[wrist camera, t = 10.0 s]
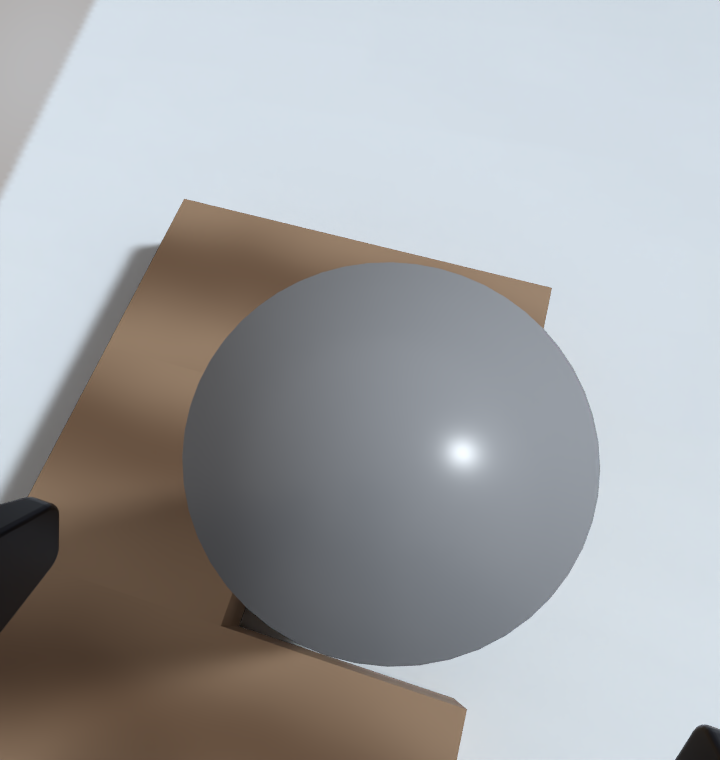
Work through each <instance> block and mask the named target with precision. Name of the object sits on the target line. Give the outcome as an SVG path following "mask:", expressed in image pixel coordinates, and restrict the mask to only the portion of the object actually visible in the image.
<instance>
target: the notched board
mask: <svg viewBox="0 0 720 760" xmlns="http://www.w3.org/2000/svg"><path fill="white" fill-rule="evenodd" d="M385 262H395V263H408V264H418V265H423V266H428V267H434V268H439V269H442V270H446V271H449V272H452V273H456V274H459V275H462V276H464V277H467V278H469V279H471V280H474V281H476V282H478V283H481V284H483V285H485V286H487V287H488V288H490V289H492V290H494V291H495V292H497V293H499V294H501V295H502V296H504V297H506V298H507V299H509V300H510V301H511V302H513V303H514V304H515V305H517V306H518V307H519V308H521V309H522V310H524V311H525V312H526V313H527V314H528V315H529V316H530V317H531V318H532V319H534V320H535V321H536V322H537V323H538V324H539V325H540V326H541V327H542V328H543V329H544V324H545V319H546V314H547V309H548V304H549V299H550V294H551V289H552V288H550V287H546V286H541V285H537V284H533V283H529V282H525V281H521V280H517V279H513V278H508V277H504V276H500V275H496V274H492V273H488V272H484V271H480V270H475V269H471V268H467V267H463V266H459V265H455V264H451V263H447V262H442V261H438V260H434V259H430V258H426V257H422V256H418V255H414V254H409V253H405V252H401V251H397V250H393V249H389V248H385V247H381V246H376V245H372V244H368V243H364V242H360V241H356V240H352V239H348V238H343V237H339V236H335V235H331V234H327V233H323V232H319V231H315V230H310V229H306V228H302V227H298V226H294V225H290V224H286V223H282V222H277V221H273V220H269V219H265V218H261V217H257V216H253V215H249V214H244V213H240V212H236V211H232V210H228V209H224V208H220V207H216V206H211V205H207V204H203V203H199V202H195V201H191V200H187V199H184V200H183V202H182V204H181V206H180V208H179V210H178V212H177V214H176V216H175V218H174V219H173V221H172V223H171V225H170V227H169V229H168V231H167V233H166V235H165V237H164V239H163V240H162V242H161V244H160V246H159V248H158V250H157V252H156V254H155V256H154V258H153V259H152V261H151V263H150V265H149V267H148V269H147V271H146V273H145V275H144V277H143V278H142V280H141V282H140V284H139V286H138V288H137V290H136V292H135V294H134V296H133V298H132V299H131V301H130V303H129V305H128V307H127V309H126V311H125V313H124V315H123V317H122V318H121V320H120V322H119V324H118V326H117V328H116V330H115V332H114V334H113V336H112V337H111V339H110V341H109V343H108V345H107V347H106V349H105V351H104V353H103V355H102V357H101V358H100V360H99V362H98V364H97V366H96V368H95V370H94V372H93V374H92V376H91V377H90V379H89V381H88V383H87V385H86V387H85V389H84V391H83V393H82V395H81V396H80V398H79V400H78V402H77V404H76V406H75V408H74V410H73V412H72V414H71V416H70V417H69V419H68V421H67V423H66V425H65V427H64V429H63V431H62V433H61V435H60V436H59V438H58V440H57V442H56V444H55V446H54V448H53V450H52V452H51V454H50V455H49V457H48V459H47V461H46V463H45V465H44V467H43V469H42V471H41V473H40V475H39V476H38V478H37V480H36V482H35V484H34V486H33V488H32V490H31V492H30V494H29V495H28V497H35V498H38V499H41V500H44V501H47V502H50V503H53V504H54V505H56V506H57V508H58V510H59V551H58V555H57V558H56V560H55V562H54V564H53V565H52V567H51V568H50V570H49V571H48V572H47V574H46V575H45V576H44V577H43V579H42V580H41V581H40V583H39V584H38V585H37V586H36V588H35V589H34V590H33V592H32V593H31V594H30V595H29V597H28V598H27V599H26V601H25V602H24V603H23V605H22V606H21V607H20V608H19V610H18V611H17V612H16V614H15V615H14V616H13V617H12V619H11V620H10V621H9V623H8V624H7V625H6V626H5V628H4V629H3V630H2V632H1V633H0V760H457V755H458V750H459V745H460V740H461V736H462V731H463V726H464V721H465V716H466V711H467V709H466V708H464V707H463V706H462V705H461V704H460V703H458V702H457V701H456V700H455V699H454V698H451V697H448V696H445V695H442V694H439V693H436V692H433V691H430V690H427V689H424V688H421V687H418V686H415V685H412V684H409V683H406V682H403V681H400V680H397V679H394V678H391V677H388V676H385V675H382V674H379V673H377V672H374V671H371V670H368V669H365V668H362V667H359V666H356V665H353V664H350V663H347V662H344V661H341V660H338V659H335V658H332V657H329V656H326V655H323V654H320V653H317V652H314V651H311V650H308V649H305V648H302V647H299V646H297V645H294V644H291V643H288V642H285V641H282V640H279V639H276V638H273V637H270V636H267V635H264V634H261V633H258V632H255V631H252V630H249V629H246V628H243V627H240V626H239V624H240V621H241V618H242V616H243V613H244V610H245V606H244V604H243V603H242V602H241V601H240V600H239V599H238V598H237V597H236V596H235V595H234V594H233V593H232V592H231V590H230V589H229V588H228V587H227V586H226V584H225V583H224V582H223V580H222V579H221V577H220V576H219V574H218V573H217V571H216V570H215V569H214V567H213V566H212V564H211V563H210V561H209V559H208V557H207V555H206V553H205V551H204V549H203V547H202V545H201V543H200V541H199V539H198V537H197V534H196V531H195V528H194V525H193V522H192V519H191V516H190V513H189V510H188V504H187V499H186V494H185V488H184V481H183V461H182V455H183V443H184V432H185V427H186V422H187V418H188V413H189V409H190V405H191V402H192V400H193V397H194V394H195V391H196V389H197V386H198V383H199V381H200V379H201V377H202V375H203V373H204V371H205V369H206V367H207V366H208V364H209V362H210V360H211V358H212V357H213V356H214V354H215V353H216V351H217V350H218V348H219V347H220V345H221V344H222V343H223V341H224V340H225V339H226V337H227V336H228V335H229V334H230V333H231V332H232V331H233V330H234V329H235V327H236V326H237V325H238V324H239V323H240V322H241V321H242V320H243V319H244V318H245V317H247V316H248V315H249V314H250V313H251V312H252V311H253V310H255V309H256V308H257V307H258V306H259V305H261V304H262V303H264V302H265V301H266V300H268V299H269V298H271V297H272V296H274V295H275V294H277V293H278V292H280V291H282V290H284V289H286V288H288V287H289V286H291V285H293V284H295V283H297V282H299V281H301V280H304V279H306V278H309V277H312V276H314V275H317V274H319V273H322V272H326V271H330V270H333V269H337V268H341V267H345V266H352V265H359V264H365V263H385Z"/></svg>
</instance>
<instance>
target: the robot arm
mask: <svg viewBox="0 0 720 760" xmlns="http://www.w3.org/2000/svg"><path fill="white" fill-rule="evenodd" d="M58 551H59V510H58V508H57V506H56V505H54V504H53V503H50V502H47V501H44V500H41V499H38V498H35V497H26V498H22V499H18V500H15V501H11V502H7V503H4V504H0V633H1V632H2V630H3V629H4V628H5V626H6V625H7V624H8V623H9V621H10V620H11V619H12V617H13V616H14V615H15V614H16V612H17V611H18V610H19V608H20V607H21V606H22V605H23V603H24V602H25V601H26V599H27V598H28V597H29V595H30V594H31V593H32V592H33V590H34V589H35V588H36V586H37V585H38V584H39V583H40V581H41V580H42V579H43V577H44V576H45V575H46V574H47V572H48V571H49V570H50V568H51V567H52V565H53V564H54V562H55V560H56V558H57V555H58ZM675 760H720V729H718V728H715V727H712V726H709V725H700V726H698V727H696V729H695V730H694V731H693V733H692V734H691V736H690V737H689V739H688V740H687V742H686V744H685V745H684V747H683V748H682V750H681V751H680V753H679V755H678V756H677V758H676V759H675Z"/></svg>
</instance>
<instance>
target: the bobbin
mask: <svg viewBox="0 0 720 760" xmlns="http://www.w3.org/2000/svg"><path fill="white" fill-rule="evenodd" d="M182 461H183V481H184V488H185V494H186V499H187V504H188V510H189V513H190V516H191V519H192V522H193V525H194V528H195V531H196V534H197V537H198V539H199V541H200V543H201V545H202V547H203V549H204V551H205V553H206V555H207V557H208V559H209V561H210V563H211V564H212V566H213V567H214V569H215V570H216V571H217V573H218V574H219V576H220V577H221V579H222V580H223V582H224V583H225V584H226V586H227V587H228V588H229V589H230V590H231V592H232V593H233V594H234V595H235V596H236V597H237V598H238V599H239V600H240V601H241V602H242V603H243V604H244V606H245V607H246V608H247V609H248V610H250V611H251V612H252V613H253V614H255V615H256V616H257V617H258V618H260V619H261V620H262V621H263V622H265V623H266V624H267V625H268V626H269V627H271V628H272V629H274V630H276V631H277V632H279V633H281V634H282V635H284V636H286V637H287V638H289V639H291V640H292V641H294V642H296V643H297V644H300V645H302V646H305V647H307V648H309V649H312V650H314V651H317V652H319V653H321V654H324V655H326V656H330V657H334V658H338V659H342V660H346V661H350V662H354V663H359V664H369V665H378V666H413V665H423V664H428V663H434V662H439V661H444V660H450V659H453V658H455V657H458V656H461V655H464V654H467V653H470V652H473V651H476V650H479V649H481V648H483V647H484V646H486V645H488V644H490V643H492V642H494V641H496V640H498V639H500V638H502V637H504V636H506V635H507V634H508V633H510V632H511V631H513V630H514V629H515V628H517V627H518V626H519V625H521V624H522V623H524V622H525V621H526V620H528V619H529V618H530V617H531V616H532V615H533V614H534V613H535V612H536V611H537V610H538V609H540V608H541V607H542V606H543V605H544V604H545V603H546V602H547V601H548V600H549V599H550V598H551V597H552V595H553V594H554V593H555V591H556V590H557V589H558V587H559V586H560V585H561V583H562V582H563V581H564V579H565V578H566V577H567V575H568V574H569V572H570V571H571V569H572V567H573V565H574V563H575V561H576V560H577V558H578V556H579V554H580V552H581V550H582V549H583V546H584V543H585V541H586V538H587V535H588V532H589V530H590V527H591V524H592V521H593V517H594V512H595V507H596V503H597V498H598V489H599V475H600V461H599V446H598V438H597V433H596V428H595V424H594V419H593V415H592V412H591V409H590V406H589V403H588V400H587V397H586V394H585V391H584V389H583V387H582V385H581V383H580V381H579V379H578V377H577V375H576V373H575V371H574V369H573V367H572V366H571V364H570V363H569V361H568V360H567V358H566V357H565V355H564V354H563V352H562V351H561V349H560V348H559V347H558V345H557V344H556V343H555V342H554V341H553V339H552V338H551V337H550V336H549V335H548V334H547V332H546V331H545V330H544V329H543V328H542V327H541V326H540V325H539V324H538V323H537V322H536V321H535V320H534V319H532V318H531V317H530V316H529V315H528V314H527V313H526V312H525V311H524V310H522V309H521V308H519V307H518V306H517V305H515V304H514V303H513V302H511V301H510V300H509V299H507V298H506V297H504V296H502V295H501V294H499V293H497V292H495V291H494V290H492V289H490V288H488V287H487V286H485V285H483V284H481V283H478V282H476V281H474V280H471V279H469V278H467V277H464V276H462V275H459V274H456V273H452V272H449V271H446V270H442V269H439V268H434V267H428V266H423V265H418V264H408V263H395V262H385V263H365V264H359V265H352V266H345V267H341V268H337V269H333V270H330V271H326V272H322V273H319V274H317V275H314V276H312V277H309V278H306V279H304V280H301V281H299V282H297V283H295V284H293V285H291V286H289V287H288V288H286V289H284V290H282V291H280V292H278V293H277V294H275V295H274V296H272V297H271V298H269V299H268V300H266V301H265V302H264V303H262V304H261V305H259V306H258V307H257V308H256V309H255V310H253V311H252V312H251V313H250V314H249V315H248V316H247V317H245V318H244V319H243V320H242V321H241V322H240V323H239V324H238V325H237V326H236V327H235V329H234V330H233V331H232V332H231V333H230V334H229V335H228V336H227V337H226V339H225V340H224V341H223V343H222V344H221V345H220V347H219V348H218V350H217V351H216V353H215V354H214V356H213V357H212V358H211V360H210V362H209V364H208V366H207V367H206V369H205V371H204V373H203V375H202V377H201V379H200V381H199V383H198V386H197V389H196V391H195V394H194V397H193V400H192V402H191V405H190V409H189V413H188V418H187V422H186V427H185V432H184V443H183V455H182Z"/></svg>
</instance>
